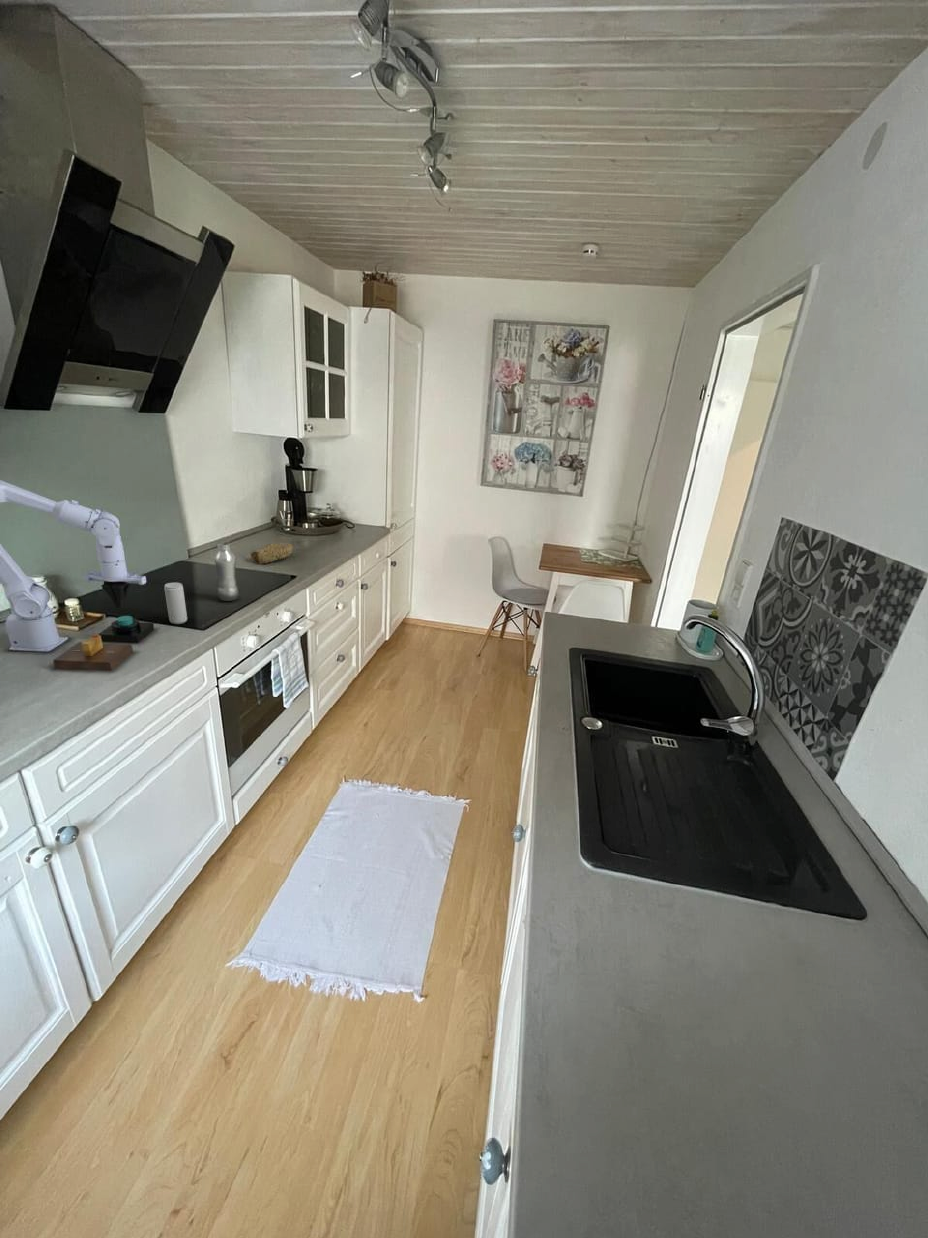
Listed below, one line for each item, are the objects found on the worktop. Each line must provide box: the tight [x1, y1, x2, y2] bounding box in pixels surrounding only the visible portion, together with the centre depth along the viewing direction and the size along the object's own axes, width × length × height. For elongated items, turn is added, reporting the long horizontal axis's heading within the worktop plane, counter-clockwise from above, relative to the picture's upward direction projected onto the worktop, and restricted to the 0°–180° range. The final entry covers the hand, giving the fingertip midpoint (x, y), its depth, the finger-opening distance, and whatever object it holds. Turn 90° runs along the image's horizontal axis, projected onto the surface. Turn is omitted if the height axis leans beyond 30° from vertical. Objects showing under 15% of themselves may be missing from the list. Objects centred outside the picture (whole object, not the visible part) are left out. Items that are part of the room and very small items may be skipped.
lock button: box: [116, 615, 133, 626], centre depth 137 cm, size 4×4×2 cm
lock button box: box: [97, 617, 155, 644], centre depth 138 cm, size 10×9×4 cm
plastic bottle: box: [214, 541, 240, 602], centre depth 165 cm, size 6×7×20 cm
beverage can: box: [164, 582, 188, 625], centre depth 147 cm, size 5×5×12 cm
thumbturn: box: [82, 634, 103, 656], centre depth 123 cm, size 5×2×4 cm, turn 5°
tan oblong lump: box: [250, 542, 294, 565], centre depth 213 cm, size 13×8×20 cm
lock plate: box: [52, 641, 134, 672], centre depth 124 cm, size 13×10×3 cm
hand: (120, 606), depth 135 cm, fingers closed
